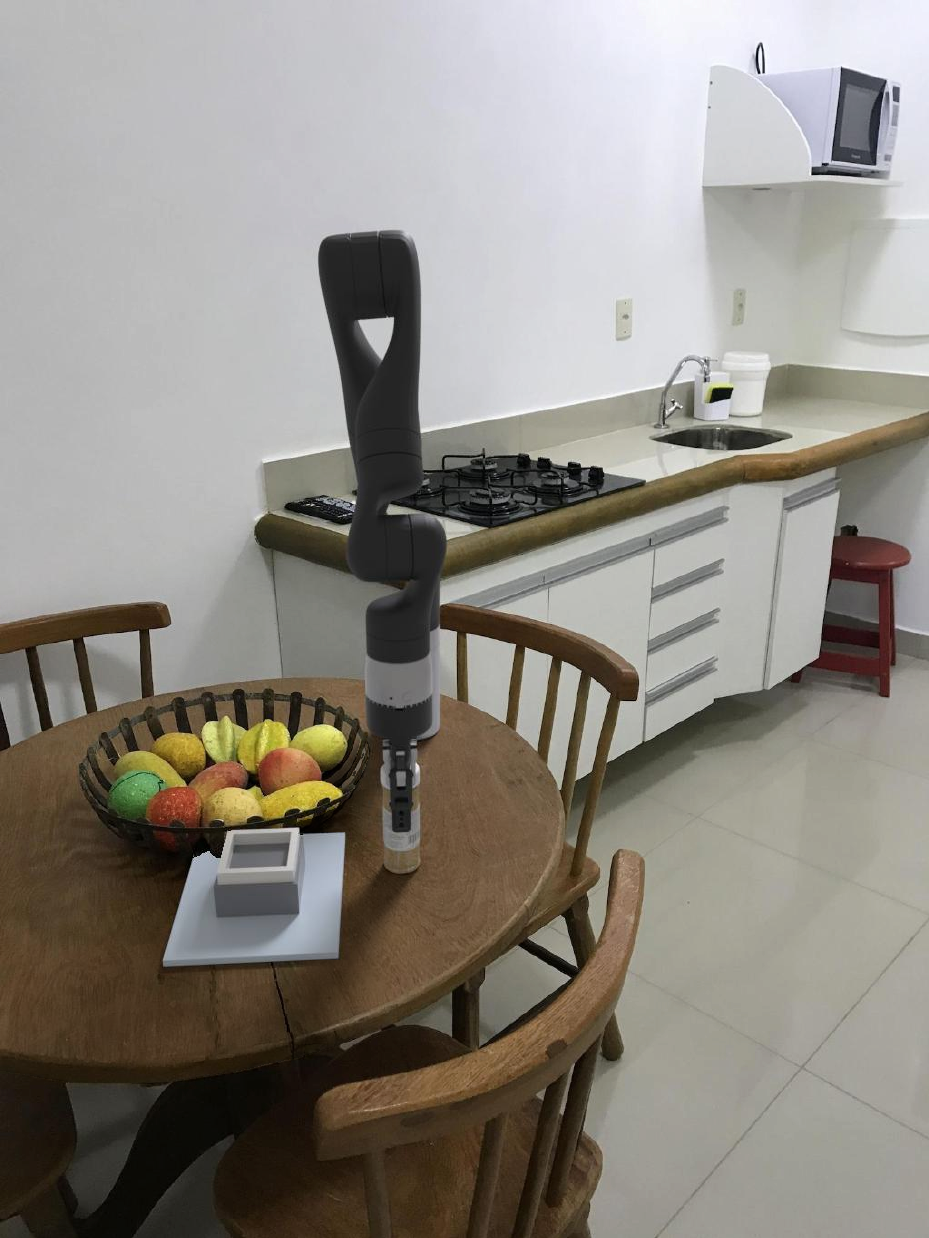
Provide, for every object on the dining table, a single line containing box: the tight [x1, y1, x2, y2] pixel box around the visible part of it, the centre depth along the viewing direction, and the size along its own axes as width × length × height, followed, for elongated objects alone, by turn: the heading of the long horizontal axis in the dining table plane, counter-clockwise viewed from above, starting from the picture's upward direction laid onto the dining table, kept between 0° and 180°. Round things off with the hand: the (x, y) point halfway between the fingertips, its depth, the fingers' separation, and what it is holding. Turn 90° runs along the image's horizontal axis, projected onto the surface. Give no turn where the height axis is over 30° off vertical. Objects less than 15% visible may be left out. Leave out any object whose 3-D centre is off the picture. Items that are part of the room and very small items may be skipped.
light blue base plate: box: [162, 827, 346, 968], centre depth 111 cm, size 22×18×6 cm
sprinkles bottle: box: [380, 761, 421, 875], centre depth 116 cm, size 5×5×13 cm
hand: (401, 818), depth 116 cm, fingers closed on sprinkles bottle, 4 cm apart
